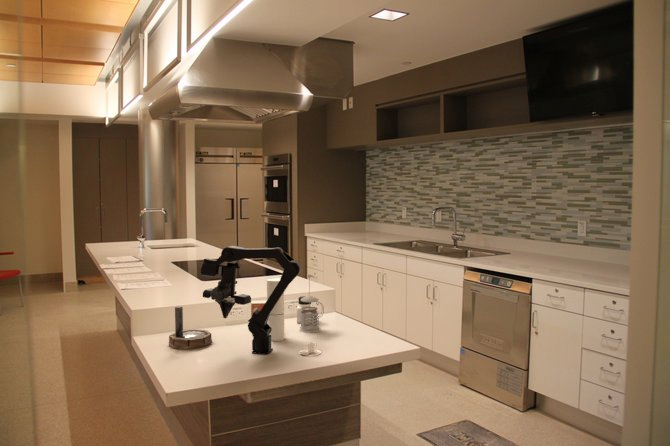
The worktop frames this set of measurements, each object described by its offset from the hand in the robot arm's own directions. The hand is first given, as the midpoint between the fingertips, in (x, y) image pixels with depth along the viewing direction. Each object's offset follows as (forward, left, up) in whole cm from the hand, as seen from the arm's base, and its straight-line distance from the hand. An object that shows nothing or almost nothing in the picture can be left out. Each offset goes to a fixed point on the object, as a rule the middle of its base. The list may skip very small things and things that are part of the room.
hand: (225, 318), depth 208 cm
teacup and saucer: (-30, -5, -14) cm, 33 cm away
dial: (+19, -7, -12) cm, 23 cm away
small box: (-2, -32, -13) cm, 35 cm away
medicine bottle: (-17, -52, -13) cm, 56 cm away
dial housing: (+19, -7, -13) cm, 24 cm away
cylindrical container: (-13, -21, -13) cm, 28 cm away
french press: (-24, -38, -13) cm, 47 cm away
